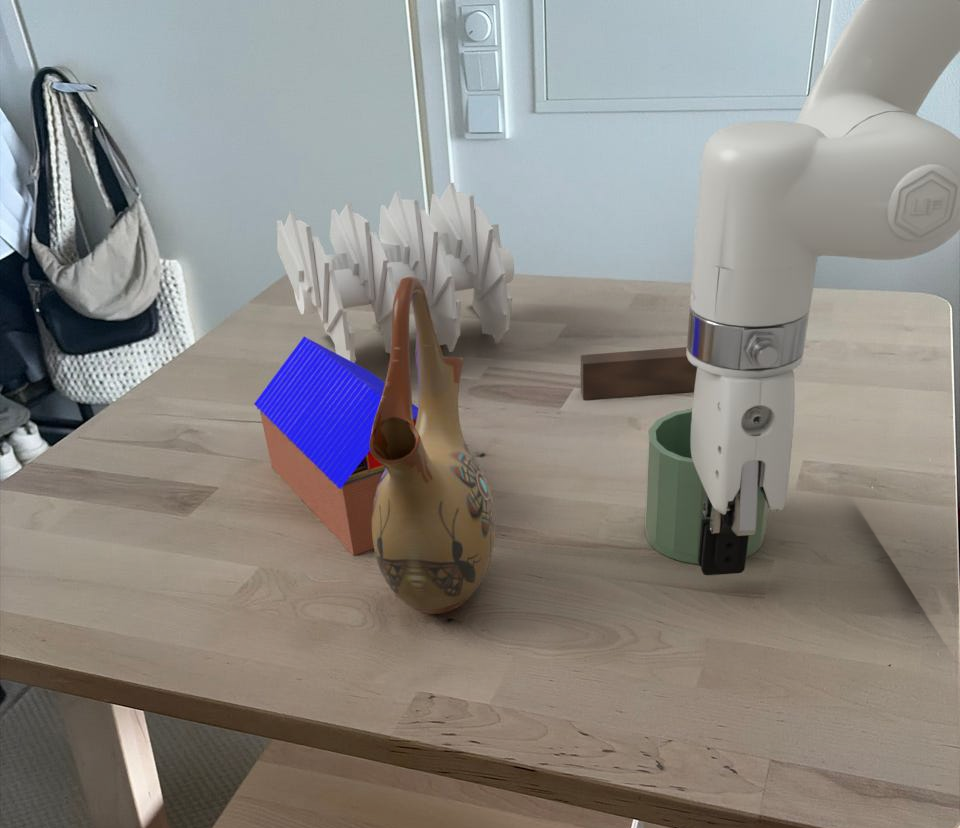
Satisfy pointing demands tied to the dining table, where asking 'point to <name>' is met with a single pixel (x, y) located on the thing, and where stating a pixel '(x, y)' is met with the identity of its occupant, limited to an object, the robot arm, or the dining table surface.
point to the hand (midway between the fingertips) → (720, 568)
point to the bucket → (680, 493)
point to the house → (326, 438)
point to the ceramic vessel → (427, 473)
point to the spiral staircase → (401, 266)
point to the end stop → (636, 373)
